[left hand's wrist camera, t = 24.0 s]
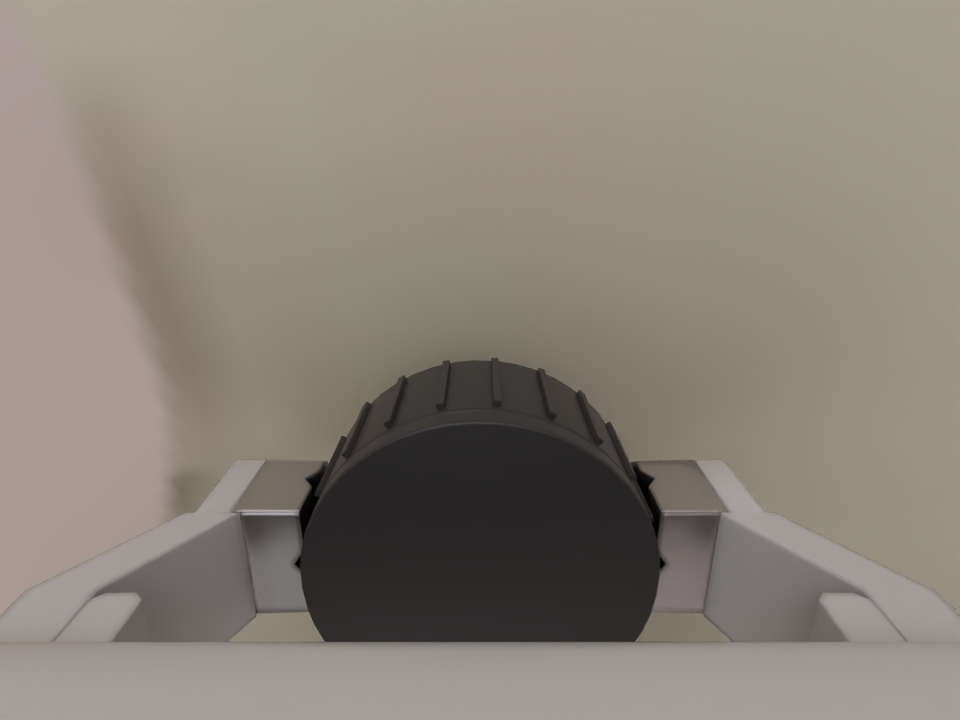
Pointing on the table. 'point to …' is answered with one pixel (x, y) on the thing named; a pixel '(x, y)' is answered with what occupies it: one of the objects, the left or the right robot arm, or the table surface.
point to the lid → (480, 517)
